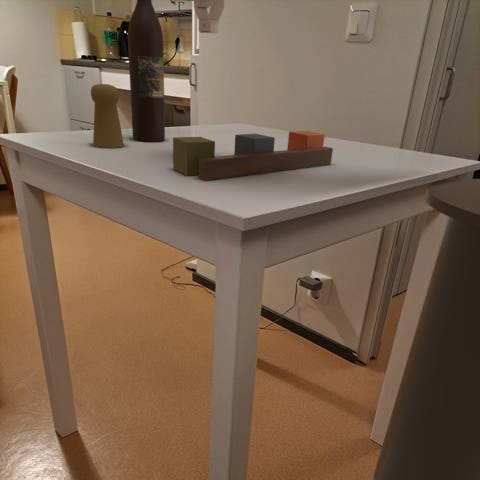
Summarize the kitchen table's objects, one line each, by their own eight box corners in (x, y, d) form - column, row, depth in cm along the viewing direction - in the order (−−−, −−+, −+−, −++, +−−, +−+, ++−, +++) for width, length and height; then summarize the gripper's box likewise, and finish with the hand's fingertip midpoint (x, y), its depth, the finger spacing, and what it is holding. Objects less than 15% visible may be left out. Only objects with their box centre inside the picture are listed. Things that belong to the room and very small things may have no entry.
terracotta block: (321, 160, 92) (325, 134, 89) (304, 162, 89) (308, 135, 86) (302, 156, 95) (305, 130, 92) (286, 158, 92) (289, 131, 89)
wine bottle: (138, 142, 97) (130, -33, 83) (129, 137, 103) (120, -28, 88) (169, 141, 100) (167, -27, 86) (159, 137, 106) (155, -23, 91)
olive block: (214, 173, 75) (215, 141, 72) (186, 175, 72) (187, 142, 70) (199, 167, 78) (200, 136, 76) (173, 169, 76) (172, 137, 73)
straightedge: (330, 164, 89) (333, 148, 87) (206, 180, 70) (206, 160, 68) (322, 162, 90) (325, 146, 89) (198, 178, 71) (198, 158, 70)
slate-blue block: (272, 166, 83) (274, 137, 80) (252, 169, 80) (254, 138, 77) (253, 161, 86) (255, 133, 84) (233, 163, 83) (235, 134, 81)
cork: (116, 149, 89) (112, 85, 83) (87, 146, 90) (81, 83, 84) (128, 144, 94) (125, 85, 89) (101, 142, 95) (96, 82, 89)
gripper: (275, -85, 62) (267, 34, 69) (186, -64, 75) (186, 34, 82) (241, -97, 58) (236, 30, 65) (153, -73, 71) (157, 31, 78)
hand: (208, 33), depth 74 cm, fingers closed
